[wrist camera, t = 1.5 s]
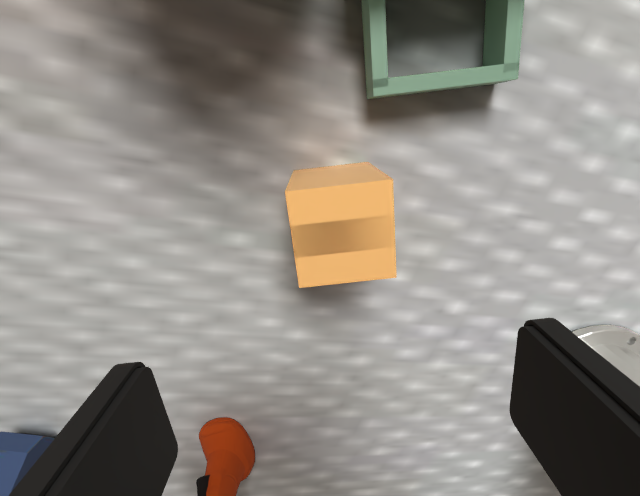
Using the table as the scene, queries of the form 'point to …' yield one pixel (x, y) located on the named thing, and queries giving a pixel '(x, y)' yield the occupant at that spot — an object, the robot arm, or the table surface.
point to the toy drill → (224, 457)
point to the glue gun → (18, 457)
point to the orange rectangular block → (342, 224)
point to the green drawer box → (497, 68)
